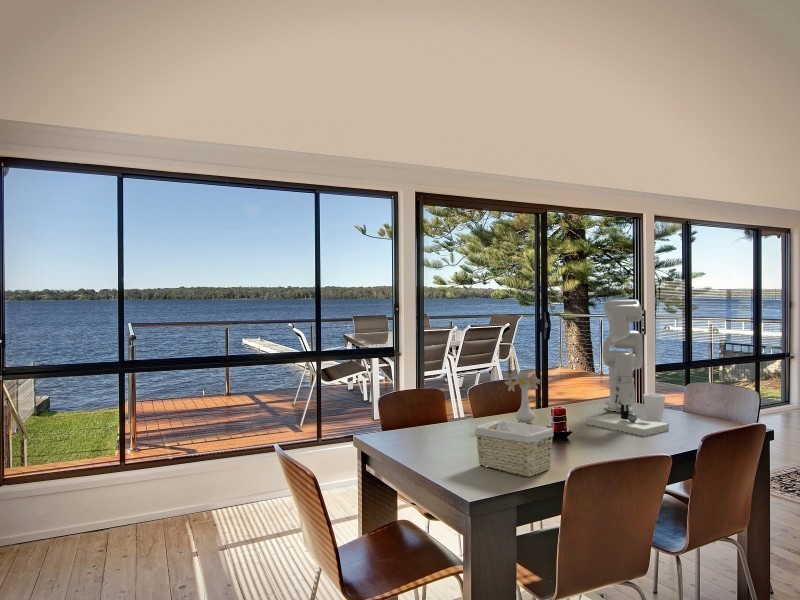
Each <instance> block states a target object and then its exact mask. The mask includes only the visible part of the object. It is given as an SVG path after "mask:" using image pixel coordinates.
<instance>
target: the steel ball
mask: <svg viewBox="0 0 800 600" xmlns="http://www.w3.org/2000/svg"><path fill="white" fill-rule="evenodd" d="M637 418H638V416H637V414H635V413H629V415H628V420H629V421H630V422H635V421H636V420H637Z"/></svg>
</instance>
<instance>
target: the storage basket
mask: <svg viewBox="0 0 800 600" xmlns="http://www.w3.org/2000/svg"><path fill="white" fill-rule="evenodd" d="M474 433H475V436H476V444H477V445H476V448H477V455H478V464H481V465H484V466H488V467H491V468H495V469H500V470H499V471H501V470H503V471H502V472H505V471H506V473H508V472H510V473H509V474H514V475H517V474H518V475H519V476H522V475H523V477H529V478H530V477H532V476H533V477H534V476H535V474H536V475H539V474H541V472H542V473H544V472H546V471H547V470H550V469H551V462H552V448H553V447H552V444H553V437H554V429H553V428H552V427H545V426H541V425H534V424H522V423H519V422H517V421H511V420H505V419H498V420H495V421H493V420H492V421H490V422H486V423H483V424H479V425H476V426H475V430H474ZM491 468H490V469H491ZM495 469H494V470H495ZM538 473H539V474H538ZM518 475H517V476H518Z"/></svg>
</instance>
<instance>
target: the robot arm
mask: <svg viewBox="0 0 800 600" xmlns="http://www.w3.org/2000/svg"><path fill="white" fill-rule="evenodd" d="M603 310H604V311H603V312H604V313H605V315H606V318H607V320H608V325H609V326H608V327H609V328H608V329H609V334H608V336H606V338H605V340H604V341H603V343H602V344H603V346H602V360H603V364H604V365H605V366H606V367H608V374H609V375H608V376H609V380H608V381H609V400H605V402H604V405H606V406H607V405H608V406H607V407H606V410H608V411H609V410H610V411H609V412H613V411H616V412H615V413H620V415H621V419H625V420H627V419H628V415H629V414H630V412H632V411H633V408H632V407H631V406H633V405H634V404H635V403H636V401H637V398H636V388H635V384H634V379H633V377H634V376H633V370H639V369H641V368H642V367H643V364H644V360H643V358H644V357H643V356H644V355H643V337H642V334H641V332H639V331H638V330H631V328H630V322H631V323H632V322H640V321H641V320H642V317H643V310H642V306H641V303H640V301H639V300H638V299H611V300H606V301H605V302H604V303H603ZM610 347H611V348H613V349H617V350H609V349H610ZM618 349H619V350H618ZM625 349H626V350H625ZM627 350H628V351H627ZM630 350H631V351H630Z"/></svg>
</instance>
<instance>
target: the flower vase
mask: <svg viewBox="0 0 800 600" xmlns="http://www.w3.org/2000/svg"><path fill="white" fill-rule="evenodd" d="M506 379H507V380H505V381H504V385H507V386H508V388H507V391H508V392H510V391H513V392H515V386H516V385H519V388H520V390H521V403H520V408H519V409H518V410H517V412H516V413H515V418H516V420H517V421H518V423H519V422H521V423H531V422H532V423H533V421H534V420H535V418H536V415H535V412H534V411H533V410H532V408H531V407H530V405H529V389H532V388H534V389H535V390H538V389H539V387H538V384H539V385H541V379H540V378H538V377H537V375H536V373H535V372H534V371H532V374H531V375H530V376H529V372H528V371H527V372H524V373H523V371H521V370H520V371H518V373H517V374H516V375H515V378H514V381H513V380H512V379H510V378H509V377H508V376H506ZM532 423H531V424H532Z"/></svg>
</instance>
